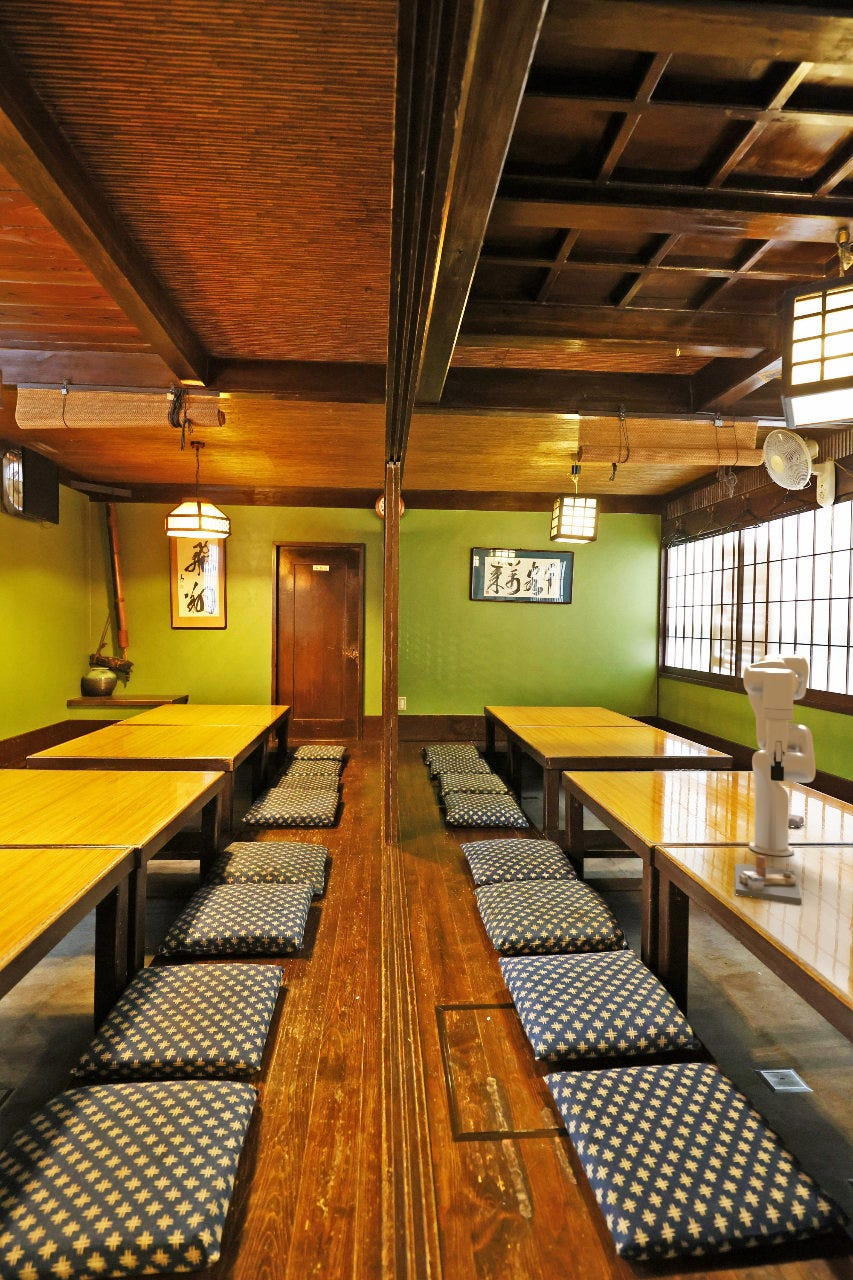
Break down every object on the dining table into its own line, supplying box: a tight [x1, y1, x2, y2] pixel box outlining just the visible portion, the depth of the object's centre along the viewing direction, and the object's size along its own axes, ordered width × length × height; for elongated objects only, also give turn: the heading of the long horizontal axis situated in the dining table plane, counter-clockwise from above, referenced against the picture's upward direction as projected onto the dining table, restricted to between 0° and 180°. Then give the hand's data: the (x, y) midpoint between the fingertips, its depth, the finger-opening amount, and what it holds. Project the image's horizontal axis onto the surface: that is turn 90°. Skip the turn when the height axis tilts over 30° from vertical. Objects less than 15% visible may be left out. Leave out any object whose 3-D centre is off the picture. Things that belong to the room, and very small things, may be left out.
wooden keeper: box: [742, 871, 764, 890], centre depth 177 cm, size 3×5×3 cm, turn 4°
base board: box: [734, 862, 802, 905], centre depth 183 cm, size 22×15×2 cm
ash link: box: [739, 854, 797, 885], centre depth 180 cm, size 14×4×7 cm, turn 90°
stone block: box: [789, 813, 805, 828], centre depth 245 cm, size 12×5×10 cm
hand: (777, 780), depth 189 cm, fingers closed
